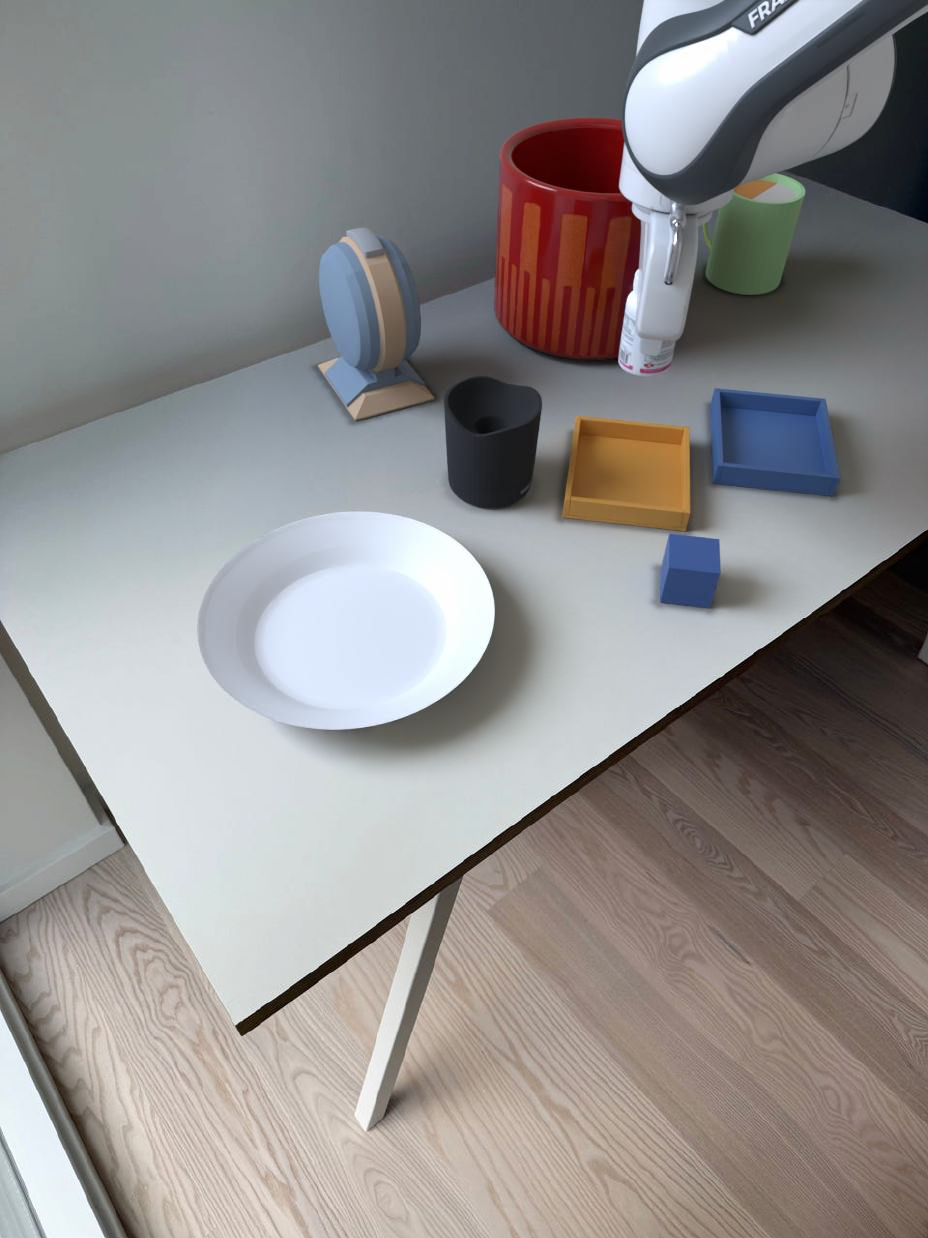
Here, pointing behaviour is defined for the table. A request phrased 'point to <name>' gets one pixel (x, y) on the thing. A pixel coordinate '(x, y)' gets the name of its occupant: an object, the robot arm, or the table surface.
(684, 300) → the robot arm
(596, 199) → the planter
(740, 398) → the blue tray
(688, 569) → the blue block
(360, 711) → the white plate
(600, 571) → the table surface
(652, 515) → the amber tray
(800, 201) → the mug
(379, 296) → the alarm clock
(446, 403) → the pen holder
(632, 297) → the pill bottle
